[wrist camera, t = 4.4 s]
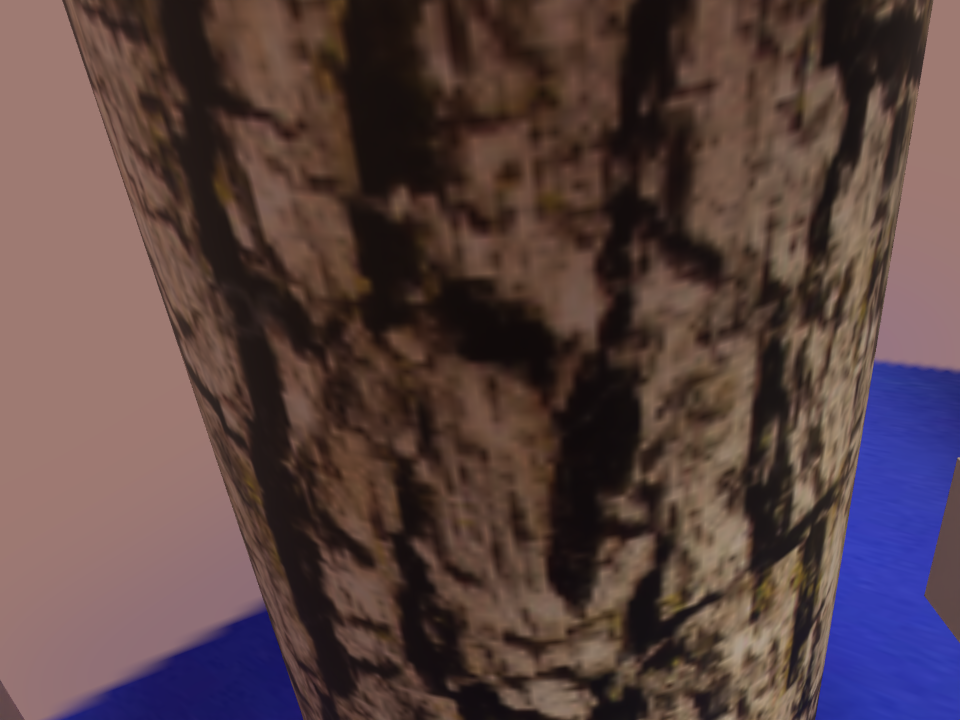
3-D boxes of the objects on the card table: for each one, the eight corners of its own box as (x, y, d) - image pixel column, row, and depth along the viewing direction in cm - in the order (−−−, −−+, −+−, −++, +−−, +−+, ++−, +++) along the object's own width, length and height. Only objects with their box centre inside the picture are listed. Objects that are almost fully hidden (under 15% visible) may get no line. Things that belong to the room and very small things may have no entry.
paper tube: (389, 964, 22) (-67, -415, 8) (641, 838, 23) (633, -457, 10) (510, 1349, 16) (-276, -903, 2) (824, 1145, 18) (1392, -783, 4)
